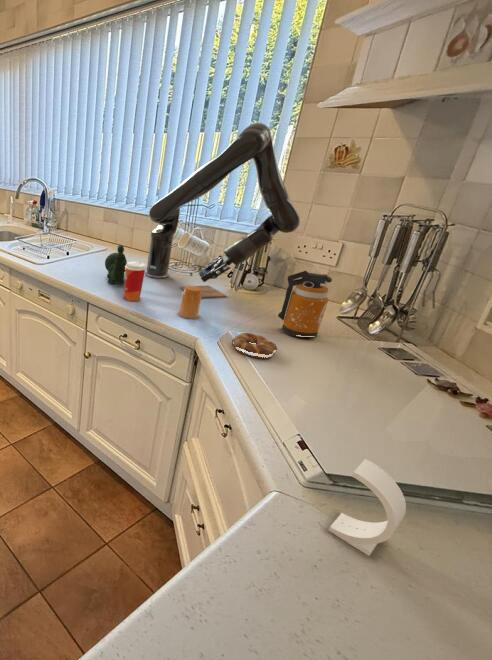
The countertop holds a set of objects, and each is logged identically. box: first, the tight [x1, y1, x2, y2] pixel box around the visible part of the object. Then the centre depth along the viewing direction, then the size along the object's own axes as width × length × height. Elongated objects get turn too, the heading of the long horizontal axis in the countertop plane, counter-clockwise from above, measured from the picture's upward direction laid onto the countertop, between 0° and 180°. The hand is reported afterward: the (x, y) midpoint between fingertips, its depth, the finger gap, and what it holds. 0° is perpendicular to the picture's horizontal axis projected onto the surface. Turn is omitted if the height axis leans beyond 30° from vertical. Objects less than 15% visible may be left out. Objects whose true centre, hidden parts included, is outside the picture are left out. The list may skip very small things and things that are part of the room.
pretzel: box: [231, 332, 278, 360], centre depth 114 cm, size 12×11×4 cm
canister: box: [277, 270, 333, 339], centre depth 120 cm, size 9×11×20 cm
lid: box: [199, 268, 218, 280], centre depth 155 cm, size 6×6×2 cm
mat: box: [180, 285, 227, 299], centre depth 158 cm, size 12×12×1 cm
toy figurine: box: [104, 244, 128, 286], centre depth 171 cm, size 9×19×25 cm
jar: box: [178, 285, 202, 320], centre depth 136 cm, size 6×6×10 cm
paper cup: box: [123, 261, 147, 302], centre depth 151 cm, size 8×8×14 cm
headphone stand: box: [328, 458, 407, 557], centre depth 58 cm, size 5×6×12 cm
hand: (201, 277), depth 156 cm, fingers closed on lid, 6 cm apart
